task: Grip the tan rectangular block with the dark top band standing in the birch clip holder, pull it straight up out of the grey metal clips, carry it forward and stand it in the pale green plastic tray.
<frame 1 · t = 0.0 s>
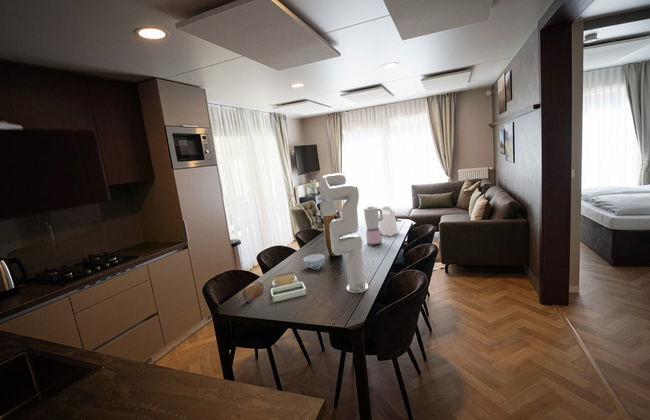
hand: (329, 222, 213), 31 cm above the table, tool pointing down, fingers open, 9 cm apart
tray: (288, 294, 179), on the table
clip holder: (285, 284, 194), on the table
blender: (376, 243, 256), on the table
tan rectangular block: (285, 283, 193), point 1 cm above the table, touching clip holder
milk: (388, 234, 281), on the table
chinaware: (315, 268, 217), on the table
orange plastic package: (254, 298, 180), on the table
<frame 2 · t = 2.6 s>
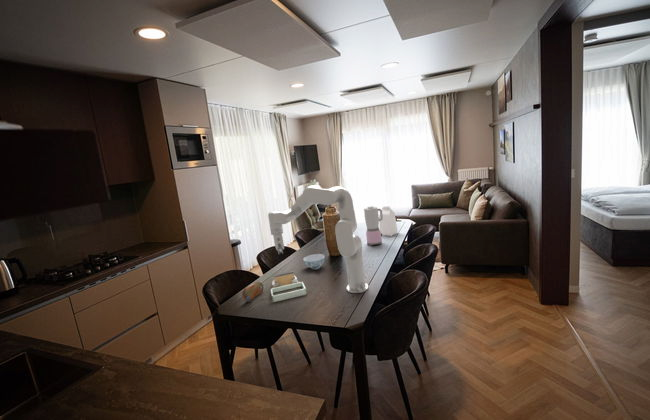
hand: (280, 257, 191), 18 cm above the table, tool pointing down, fingers open, 9 cm apart
nothing on the table moved.
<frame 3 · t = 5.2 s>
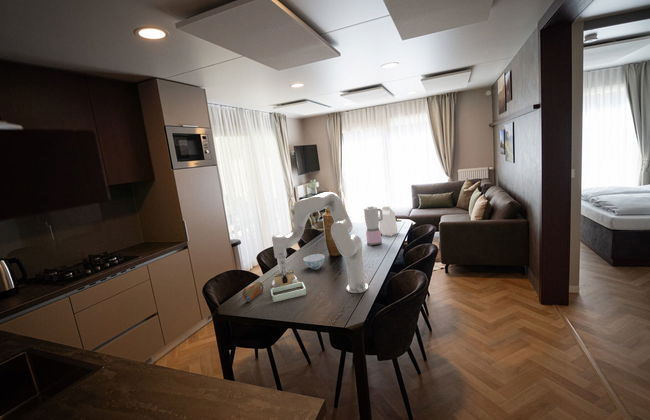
hand: (285, 281, 193), 2 cm above the table, tool pointing down, fingers closed on tan rectangular block, 3 cm apart
tan rectangular block: (285, 283, 193), point 1 cm above the table, touching clip holder, gripper
everything else where it was.
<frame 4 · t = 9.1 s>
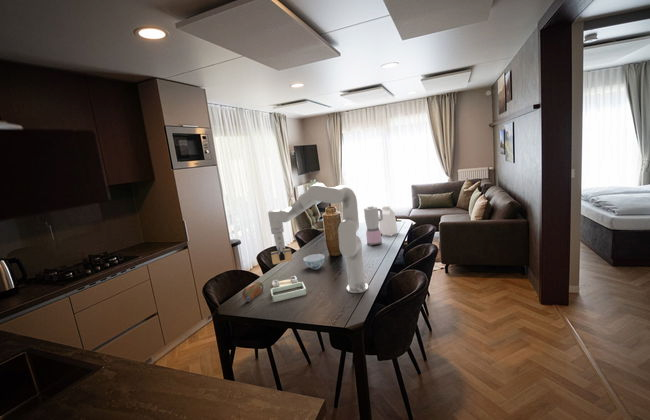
hand: (282, 259, 186), 19 cm above the table, tool pointing down, fingers closed on tan rectangular block, 3 cm apart
tan rectangular block: (282, 261, 186), point 17 cm above the table, touching gripper
everything else where it was.
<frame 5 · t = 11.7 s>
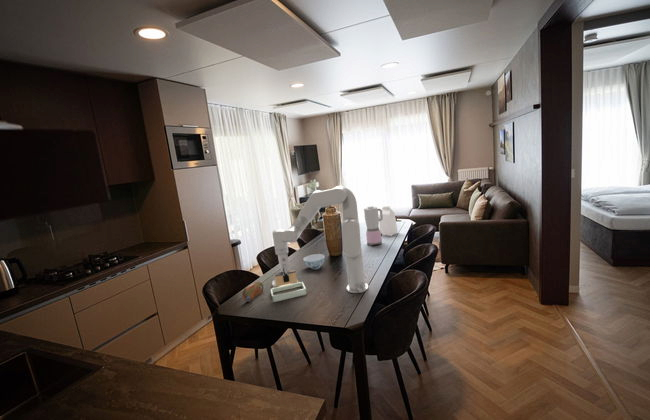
hand: (286, 280, 178), 9 cm above the table, tool pointing down, fingers closed on tan rectangular block, 3 cm apart
tan rectangular block: (286, 283, 178), point 7 cm above the table, touching gripper
everything else where it was.
when the fingers open (3 cm above the table, at t = 13.5 s): tan rectangular block stays where it is, resting on tray.
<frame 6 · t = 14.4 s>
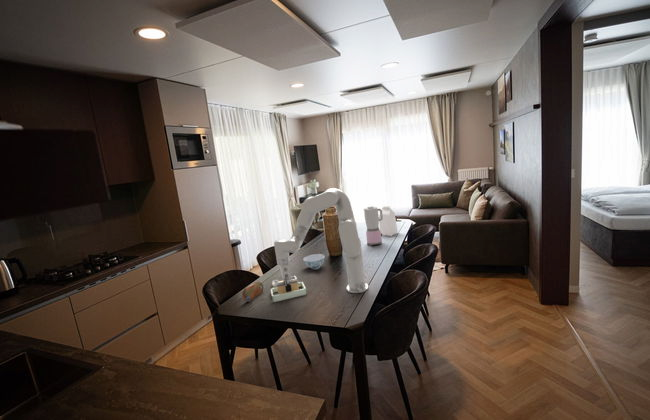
hand: (287, 288, 179), 4 cm above the table, tool pointing down, fingers open, 9 cm apart
tan rectangular block: (288, 293, 179), point 1 cm above the table, touching tray
everything else where it was.
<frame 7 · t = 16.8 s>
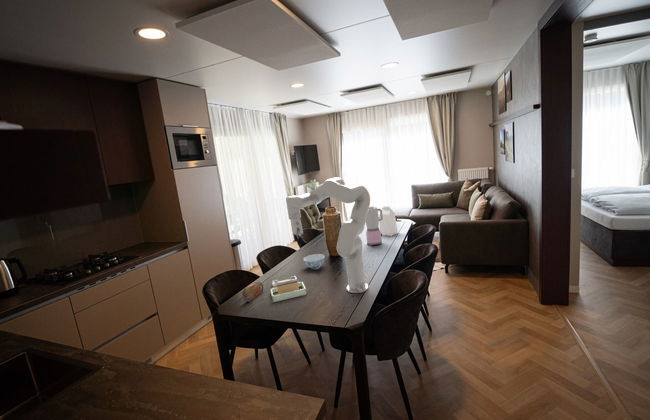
hand: (298, 242, 190), 26 cm above the table, tool pointing down, fingers open, 9 cm apart
nothing on the table moved.
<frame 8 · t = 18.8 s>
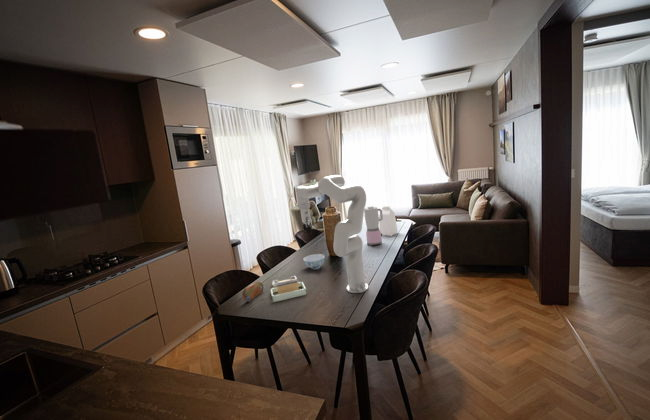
hand: (307, 231, 199), 30 cm above the table, tool pointing down, fingers open, 9 cm apart
nothing on the table moved.
at the end: tan rectangular block inside the target area on the tray (0.1 cm from its centre), point 0.6 cm above the tray's base; tan rectangular block tilted 0°; the gripper is holding nothing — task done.
